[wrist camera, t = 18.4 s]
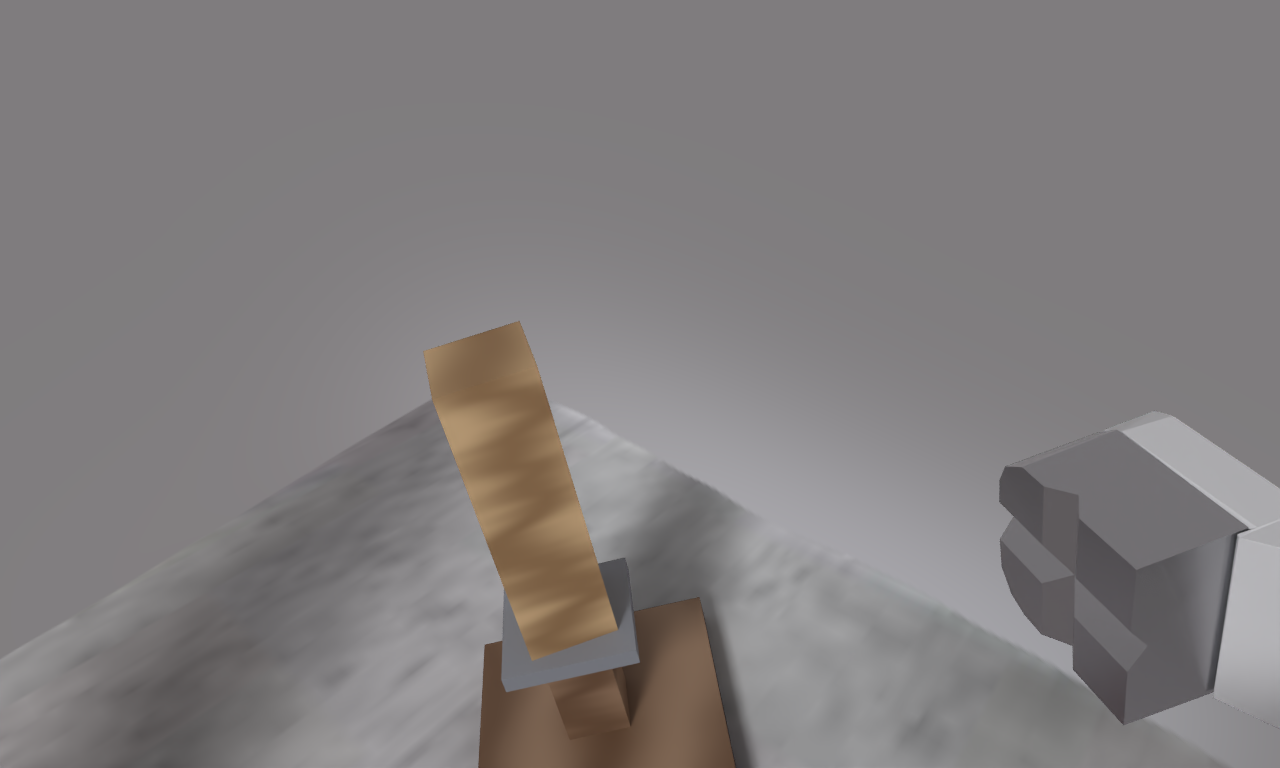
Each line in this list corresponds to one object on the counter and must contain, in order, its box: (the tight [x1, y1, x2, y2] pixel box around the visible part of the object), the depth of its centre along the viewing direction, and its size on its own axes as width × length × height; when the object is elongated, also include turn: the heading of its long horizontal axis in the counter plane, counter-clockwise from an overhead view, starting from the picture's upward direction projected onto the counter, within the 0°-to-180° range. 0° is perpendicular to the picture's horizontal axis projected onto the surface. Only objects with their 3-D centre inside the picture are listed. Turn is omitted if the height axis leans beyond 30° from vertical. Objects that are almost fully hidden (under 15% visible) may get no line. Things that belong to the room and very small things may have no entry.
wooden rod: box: [424, 321, 618, 661], centre depth 42 cm, size 4×4×14 cm
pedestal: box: [478, 558, 736, 768], centre depth 47 cm, size 12×12×8 cm
